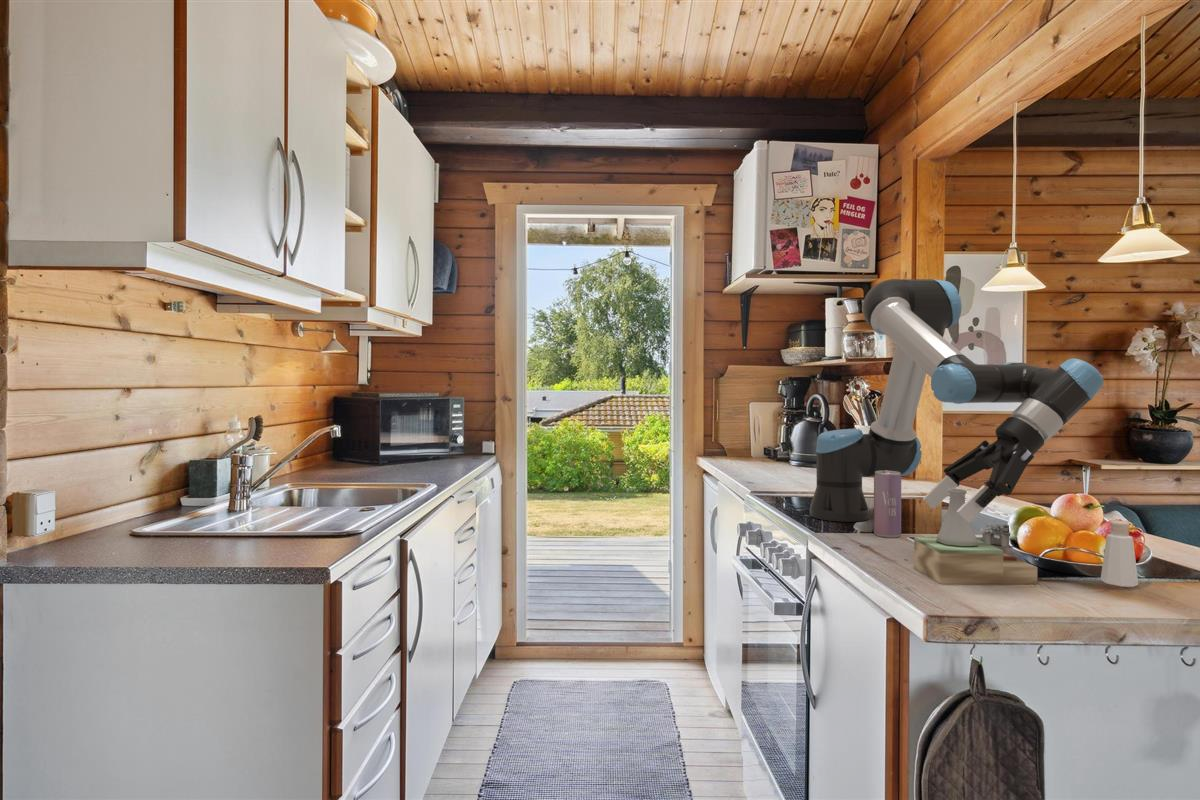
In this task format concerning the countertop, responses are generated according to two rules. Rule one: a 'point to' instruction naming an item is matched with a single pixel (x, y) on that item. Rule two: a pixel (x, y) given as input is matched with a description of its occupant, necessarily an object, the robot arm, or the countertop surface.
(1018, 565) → the stand
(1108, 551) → the salt shaker
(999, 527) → the egg carton
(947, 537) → the flask
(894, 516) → the beverage can
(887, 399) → the robot arm
